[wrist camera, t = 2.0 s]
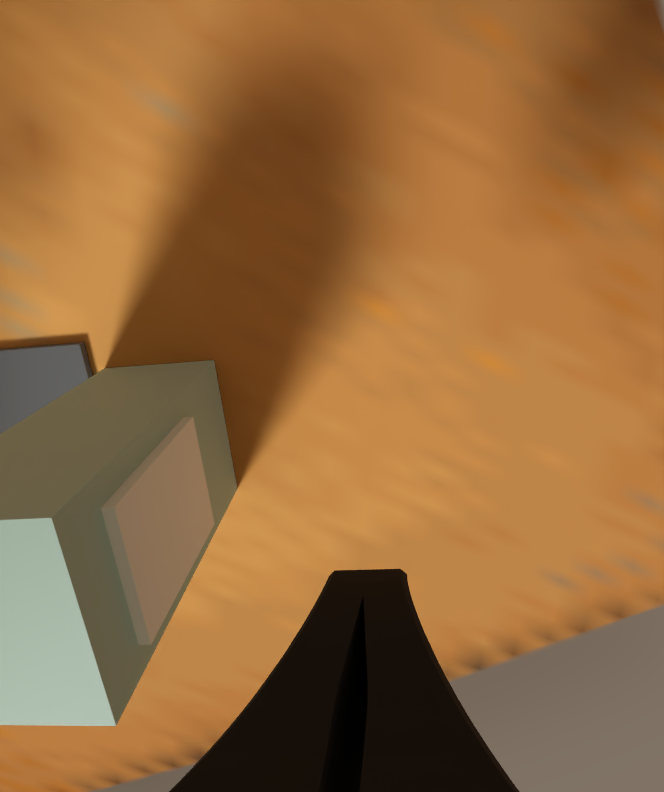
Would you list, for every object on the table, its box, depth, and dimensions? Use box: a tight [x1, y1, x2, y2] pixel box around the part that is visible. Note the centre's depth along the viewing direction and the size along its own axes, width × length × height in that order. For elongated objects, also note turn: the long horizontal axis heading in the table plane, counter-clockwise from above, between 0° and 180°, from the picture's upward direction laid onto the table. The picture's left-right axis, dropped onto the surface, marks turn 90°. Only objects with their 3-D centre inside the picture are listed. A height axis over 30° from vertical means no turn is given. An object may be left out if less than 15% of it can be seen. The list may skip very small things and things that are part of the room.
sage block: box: [0, 360, 237, 726], centre depth 16 cm, size 4×5×10 cm
